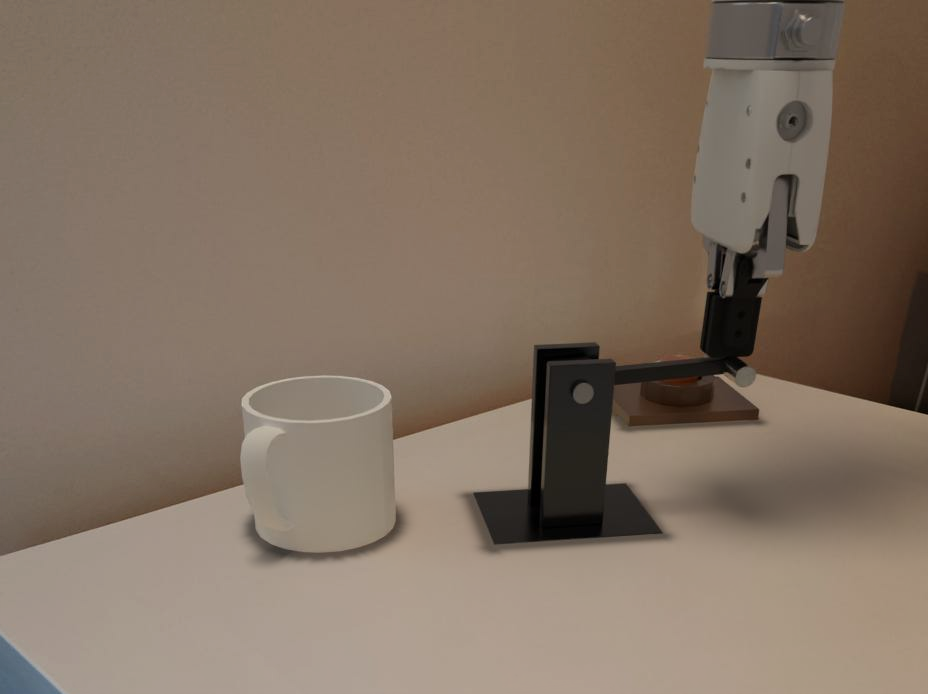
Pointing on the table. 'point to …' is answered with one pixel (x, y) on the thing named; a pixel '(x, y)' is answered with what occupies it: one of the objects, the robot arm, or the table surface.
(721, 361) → the lever
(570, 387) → the bracket
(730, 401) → the button box
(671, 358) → the button
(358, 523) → the mug
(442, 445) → the table surface
